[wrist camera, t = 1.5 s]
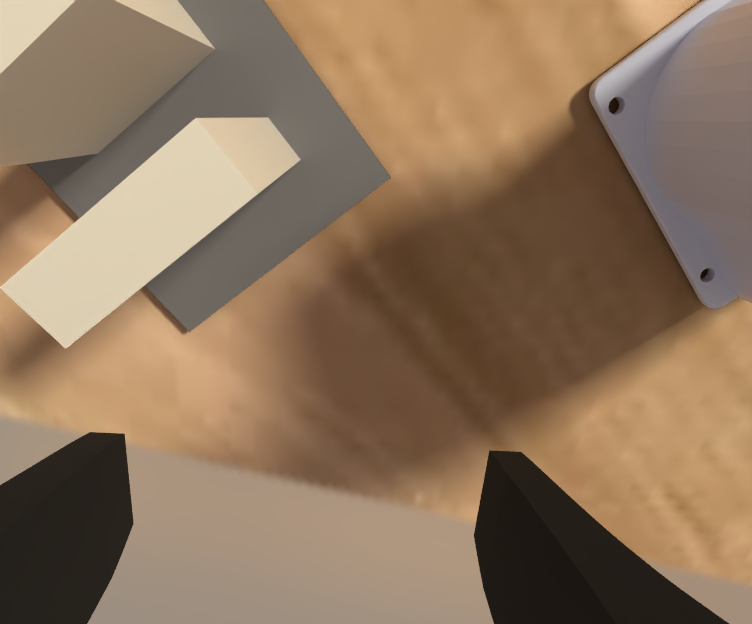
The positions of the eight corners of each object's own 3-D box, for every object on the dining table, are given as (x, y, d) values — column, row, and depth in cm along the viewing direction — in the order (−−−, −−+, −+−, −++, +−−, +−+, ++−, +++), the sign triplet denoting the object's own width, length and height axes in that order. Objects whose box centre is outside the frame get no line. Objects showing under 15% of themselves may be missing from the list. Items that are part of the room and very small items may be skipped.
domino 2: (300, 159, 17) (257, 193, 9) (186, 251, 18) (65, 348, 10) (268, 117, 16) (195, 117, 9) (152, 213, 17) (-1, 287, 10)
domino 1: (215, 49, 16) (88, -13, 8) (97, 153, 17) (-113, 183, 9) (177, -1, 15) (6, -113, 8) (58, 110, 16) (-198, 104, 9)
